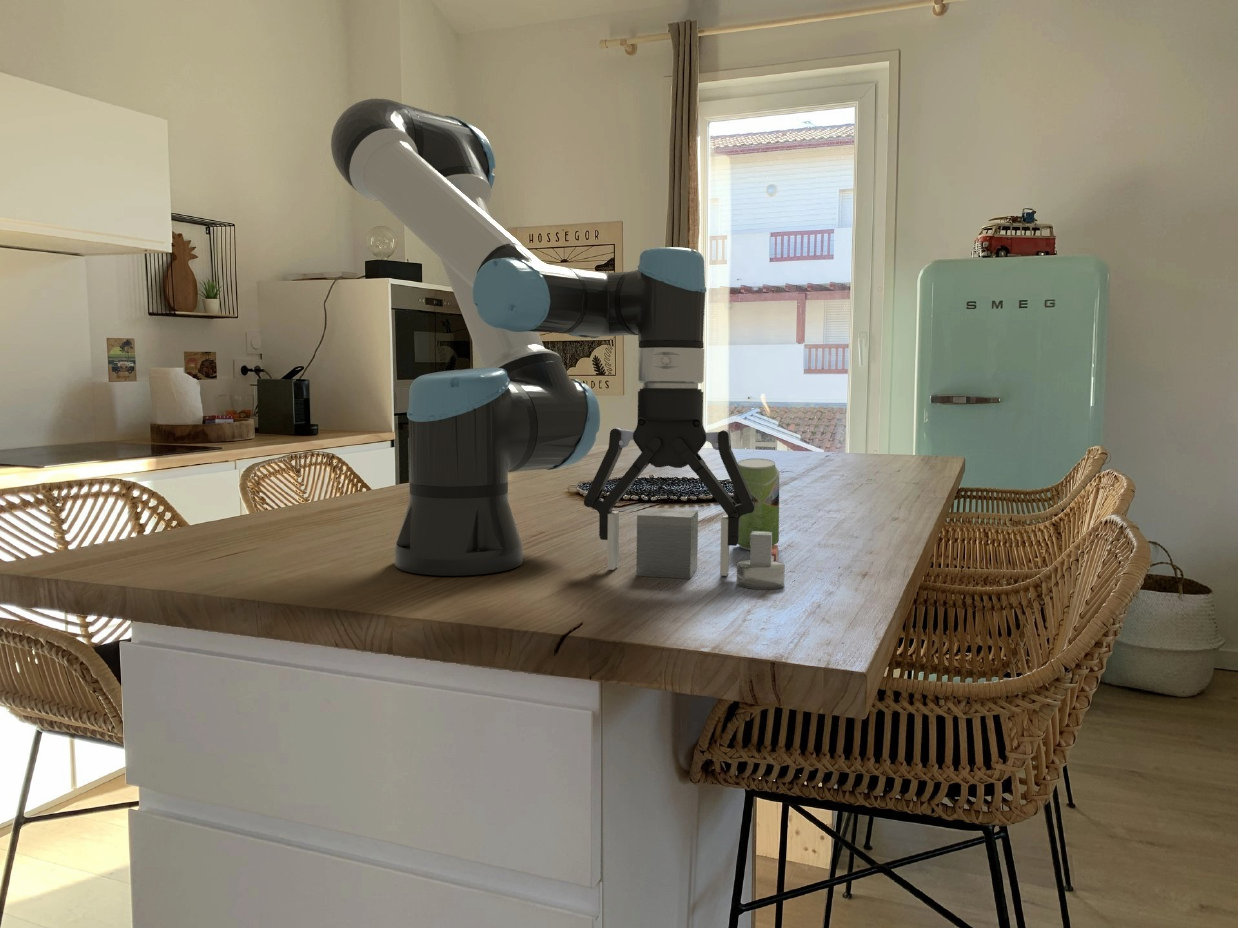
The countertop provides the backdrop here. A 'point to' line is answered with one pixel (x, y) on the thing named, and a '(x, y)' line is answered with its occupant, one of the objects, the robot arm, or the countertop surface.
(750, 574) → the ratchet
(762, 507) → the beverage can
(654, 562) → the brushed steel cube
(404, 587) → the countertop surface
